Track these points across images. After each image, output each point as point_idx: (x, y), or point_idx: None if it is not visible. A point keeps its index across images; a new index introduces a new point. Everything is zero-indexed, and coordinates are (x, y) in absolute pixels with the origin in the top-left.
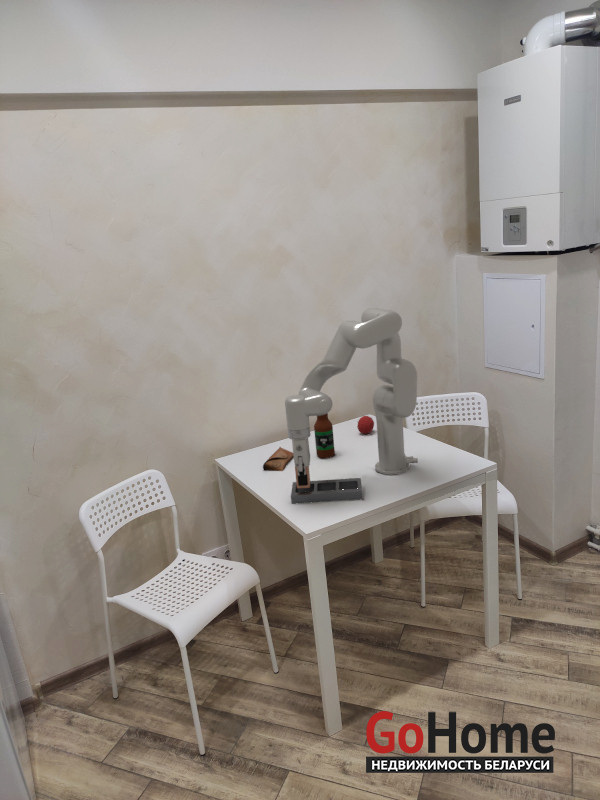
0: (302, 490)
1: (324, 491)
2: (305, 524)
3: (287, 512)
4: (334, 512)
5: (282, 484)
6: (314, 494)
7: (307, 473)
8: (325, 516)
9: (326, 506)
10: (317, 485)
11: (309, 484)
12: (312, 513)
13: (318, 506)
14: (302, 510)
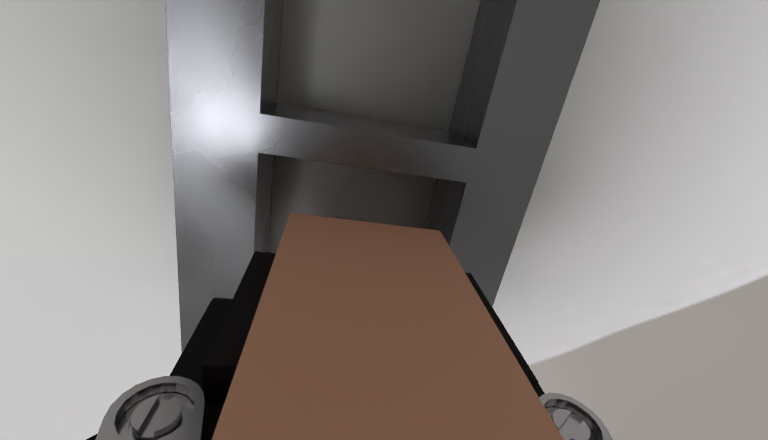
0: (265, 248)
1: (520, 62)
2: (759, 254)
3: (554, 343)
4: (749, 21)
5: (86, 374)
6: (533, 182)
7: (508, 375)
8: (757, 111)
9: (612, 74)
10: (305, 119)
11: (449, 248)
12: (655, 199)
13: (577, 142)
14: (576, 260)
